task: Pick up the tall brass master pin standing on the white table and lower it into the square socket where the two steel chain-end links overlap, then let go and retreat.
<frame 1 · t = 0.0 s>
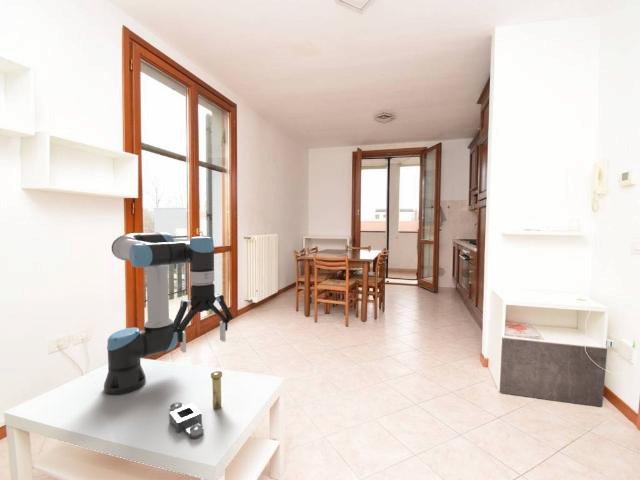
hand: (203, 345, 108), 28 cm above the table, fingers open, 13 cm apart
chain ends: (185, 422, 111), on the table
pin: (217, 407, 120), on the table
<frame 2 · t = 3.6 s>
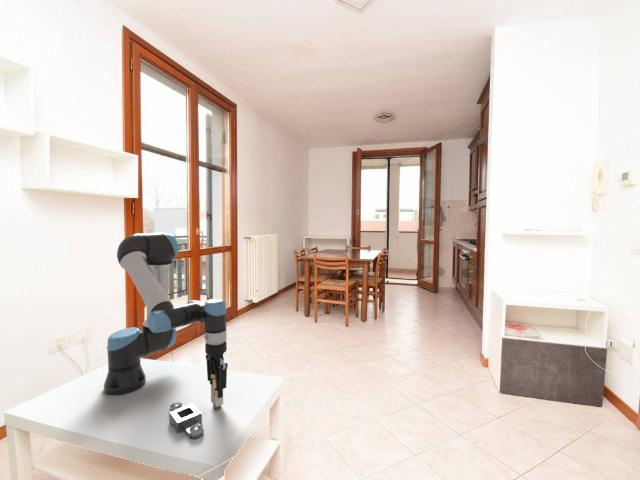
hand: (217, 402, 120), 2 cm above the table, fingers closed on pin, 3 cm apart
pin: (217, 407, 120), on the table, touching gripper
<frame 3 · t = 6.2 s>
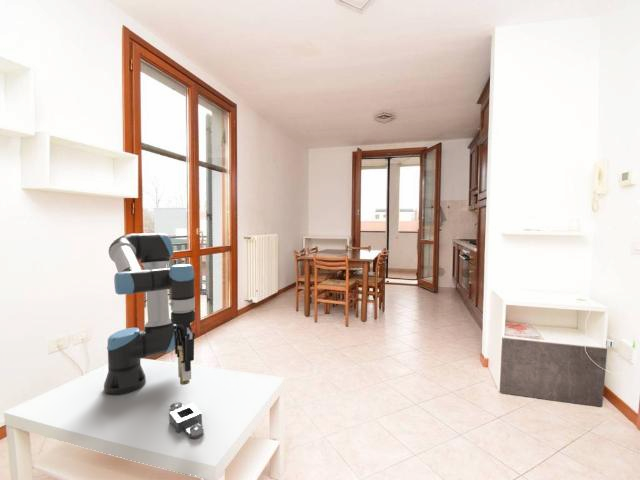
hand: (184, 377, 110), 16 cm above the table, fingers closed on pin, 3 cm apart
pin: (184, 382, 110), point 14 cm above the table, touching gripper
when the fingers open (4 cm above the table, at t = 8.8 s): pin drops 2 cm, resting in chain ends.
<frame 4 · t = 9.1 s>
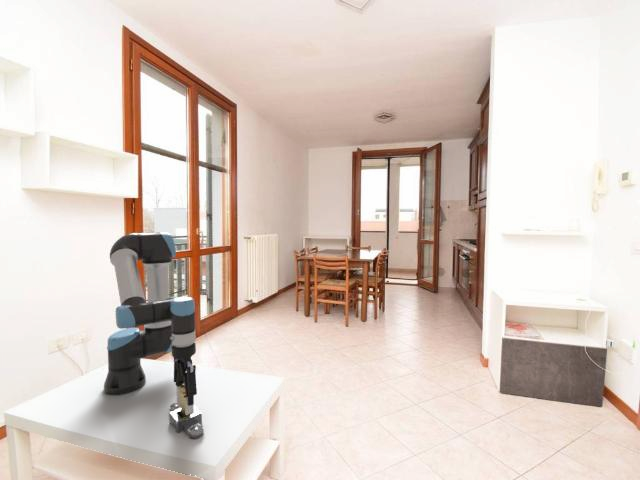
hand: (185, 408, 111), 5 cm above the table, fingers open, 7 cm apart
pin: (185, 422, 111), resting in chain ends
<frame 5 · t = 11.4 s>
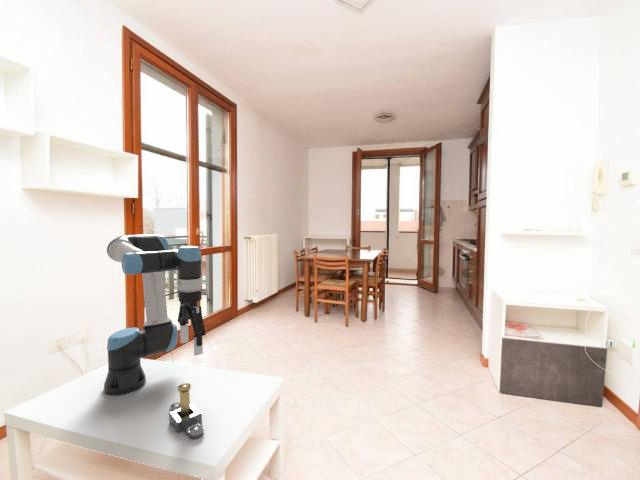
hand: (191, 348, 115), 24 cm above the table, fingers open, 13 cm apart
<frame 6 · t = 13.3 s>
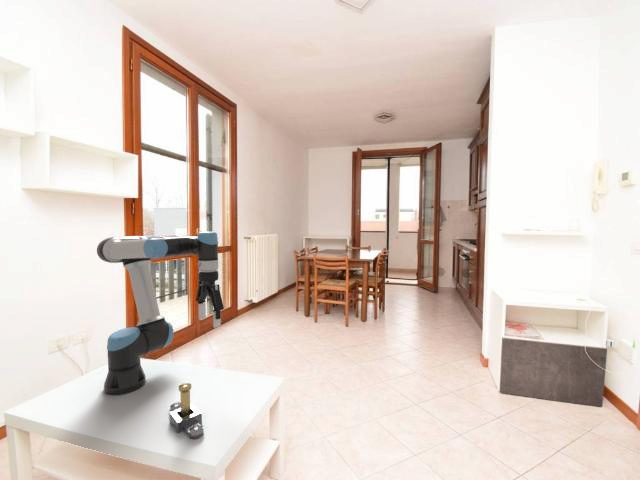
hand: (209, 322, 129), 29 cm above the table, fingers open, 13 cm apart
nothing on the table moved.
at the end: pin 0.2 cm off-centre on the chain ends, point 0.0 cm above the chain ends's base; pin tilted 1°; the gripper is holding nothing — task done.
